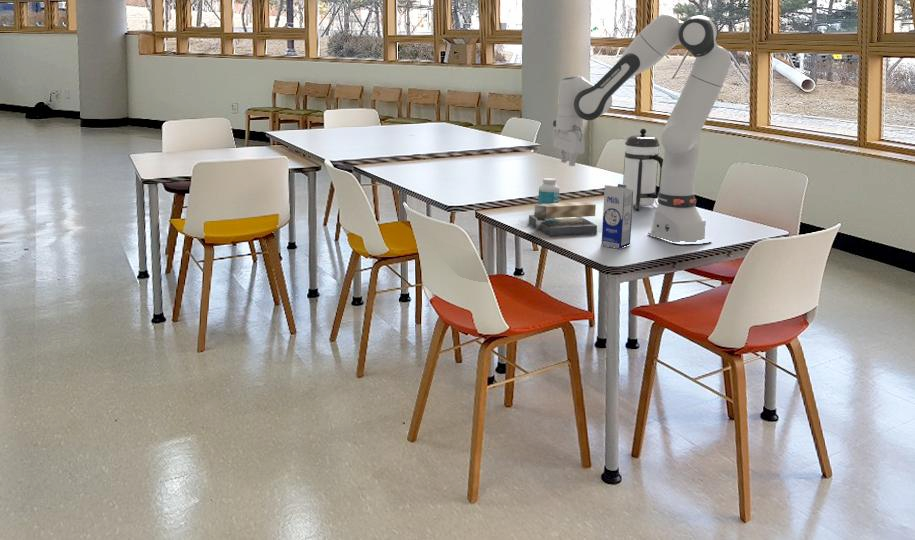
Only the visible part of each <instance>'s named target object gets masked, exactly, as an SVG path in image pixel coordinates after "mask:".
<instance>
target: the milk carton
mask: <svg viewBox="0 0 915 540" xmlns="http://www.w3.org/2000/svg"><path fill="white" fill-rule="evenodd" d="M603 192H604V195H603V207H602V208H603V209H602V210H603V211H602V227H601V230H602V231H601V245H600V246H601V247H605V246H609V247H608V248H610V247H615V248H622V247H624V246H627V245H629V244H630V245H631V238H632V237H631V236H632V235H631V234H632V233H631V232H632V221H633V220H632V219H633V218H632V217H633V208H634V206H633V192H634V191H633V190H631V189H628V188H626V185H624V184H623V183H622V184H621V183H617V186H616V185H615V186H614V185H606V184H605V185H604V191H603ZM602 245H603V246H602ZM615 248H614V249H615ZM622 249H623V248H622Z"/></svg>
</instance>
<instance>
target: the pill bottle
mask: <svg viewBox="0 0 915 540" xmlns="http://www.w3.org/2000/svg"><path fill="white" fill-rule="evenodd" d="M556 183H557V179H556V178H552V177H544V178H542V184H540V185H539V186H538V204H551V203H560V187H559V185H557V184H556Z"/></svg>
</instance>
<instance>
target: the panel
mask: <svg viewBox="0 0 915 540" xmlns="http://www.w3.org/2000/svg"><path fill="white" fill-rule="evenodd" d="M528 224H529V225H530V226H532V227H534V228H535V231H538V232H541V233H543V234H544V235H545V236H548V237H549V238H552V237H555V238H556V237H569V236H572V237H573V236H587V235H597V234H598V225H597V224H595V223H593V221H589V220H588V219H586V218H584V217H566V218H535V217H534V214H529V215H528Z"/></svg>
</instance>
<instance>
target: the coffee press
mask: <svg viewBox="0 0 915 540" xmlns="http://www.w3.org/2000/svg"><path fill="white" fill-rule="evenodd" d="M639 132H640V134H633V135H630V136H628V137H627V139H626V141H625V142H624V144H625V151H624V164H623V165H624V166H623V176H622V177H623V178H622V179H623V180H622V185H626V188H628V189H631V190H633V191H634V192H633V207H635V211H636V212H640V207H649V206H651V207H652V208H654V209H655V208H656V207H657V206H658V202H656V199H658V193H659V192H660V183H661V169H662V164H663V158H662V157H661V156H659V147H660V146H661V143H660V141H659V139H658V138H657V137H656V136H653V135H649V134H646V133H647V130H646V129H645V128H641V129H640V130H639ZM658 166H659V183H658V191H657V190H656V189H657V182H658V181H657V180H658V179H657V178H658V176H657V175H658ZM654 203H655V205H656V207H655V206H654Z"/></svg>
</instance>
